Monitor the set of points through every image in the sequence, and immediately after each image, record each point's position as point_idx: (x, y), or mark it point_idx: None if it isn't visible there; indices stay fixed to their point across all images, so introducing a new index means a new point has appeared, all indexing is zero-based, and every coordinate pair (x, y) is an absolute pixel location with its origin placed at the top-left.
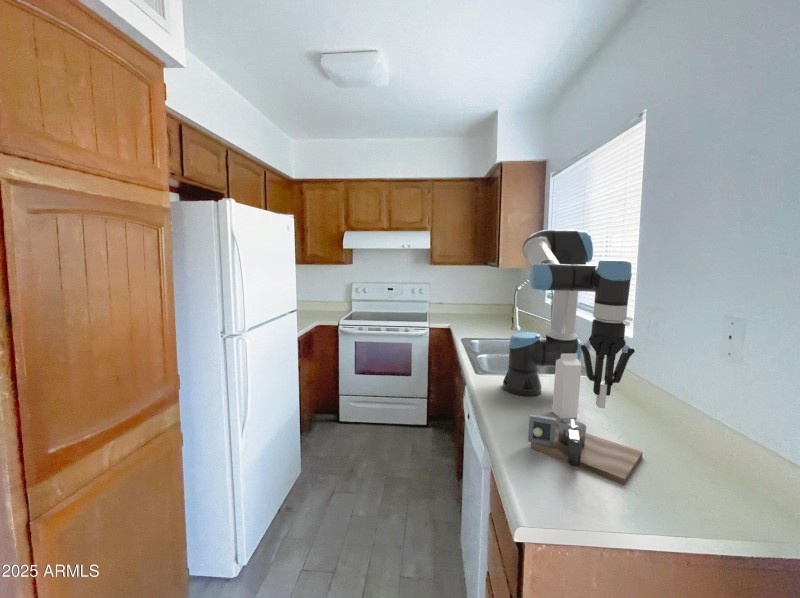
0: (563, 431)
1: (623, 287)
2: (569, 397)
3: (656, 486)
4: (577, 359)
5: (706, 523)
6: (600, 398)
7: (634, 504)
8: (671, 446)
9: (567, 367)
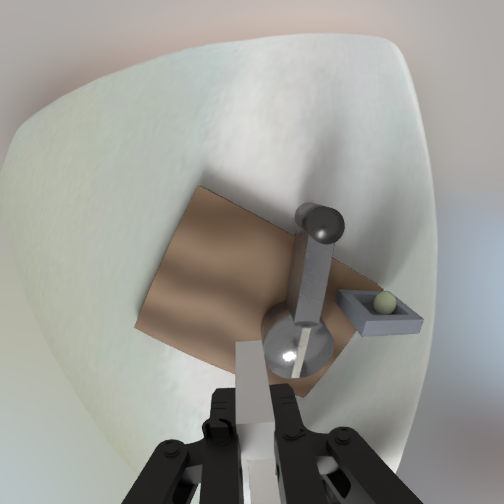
0: (324, 324)
1: None
2: (271, 465)
3: (134, 205)
4: None
5: (94, 112)
6: (261, 366)
7: (199, 118)
8: (88, 371)
9: None
